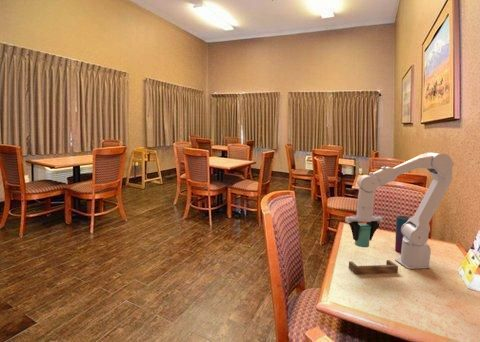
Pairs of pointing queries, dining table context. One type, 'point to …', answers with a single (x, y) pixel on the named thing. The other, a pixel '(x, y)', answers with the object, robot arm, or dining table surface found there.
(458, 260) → the dining table surface
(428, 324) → the dining table surface
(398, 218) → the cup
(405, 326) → the dining table surface
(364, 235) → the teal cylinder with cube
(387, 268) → the dock
